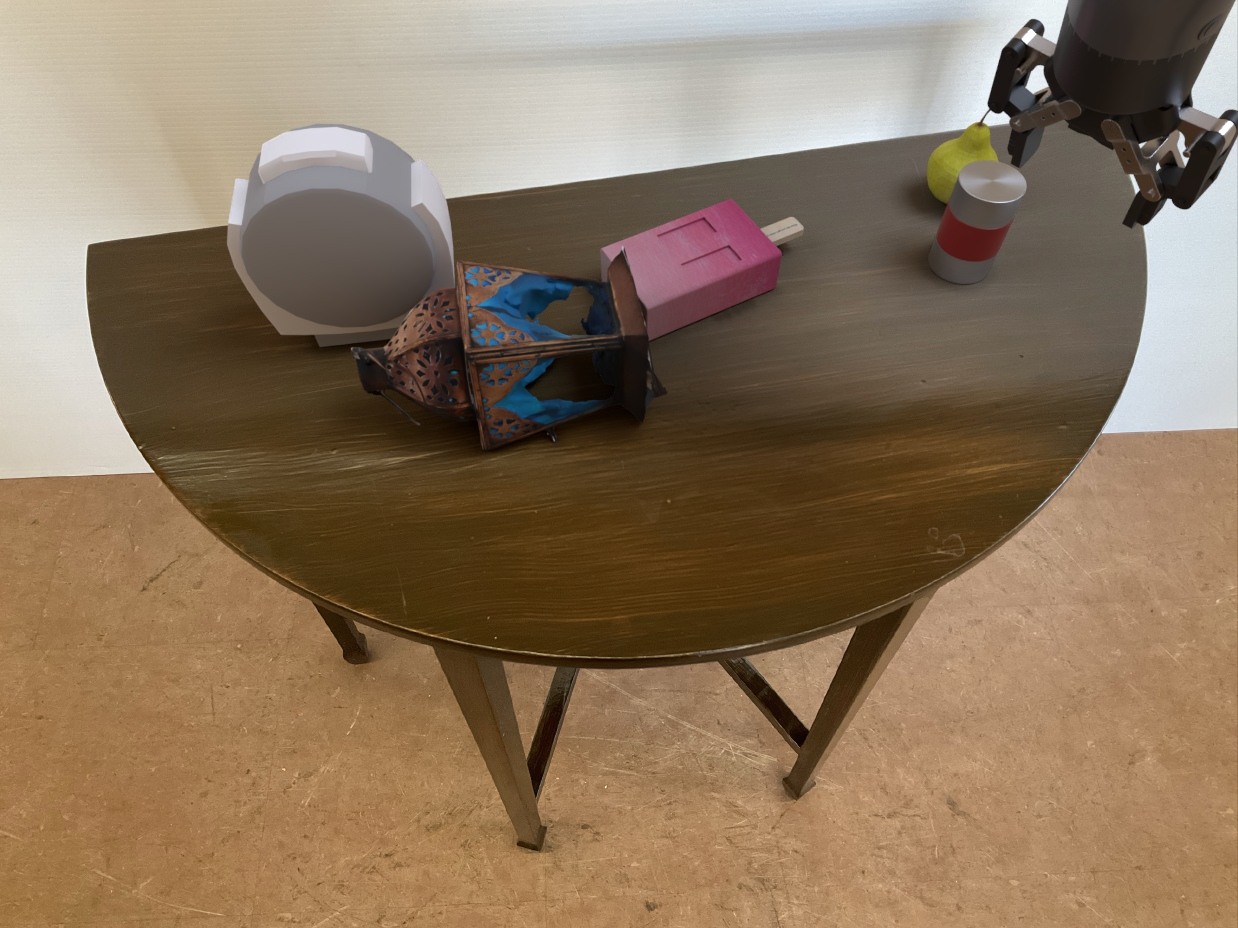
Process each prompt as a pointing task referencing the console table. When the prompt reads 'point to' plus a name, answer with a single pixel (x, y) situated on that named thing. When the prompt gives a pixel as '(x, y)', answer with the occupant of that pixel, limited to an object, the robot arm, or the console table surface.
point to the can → (976, 221)
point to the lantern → (512, 350)
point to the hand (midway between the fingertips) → (1078, 186)
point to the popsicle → (701, 264)
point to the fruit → (958, 158)
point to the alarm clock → (339, 234)
